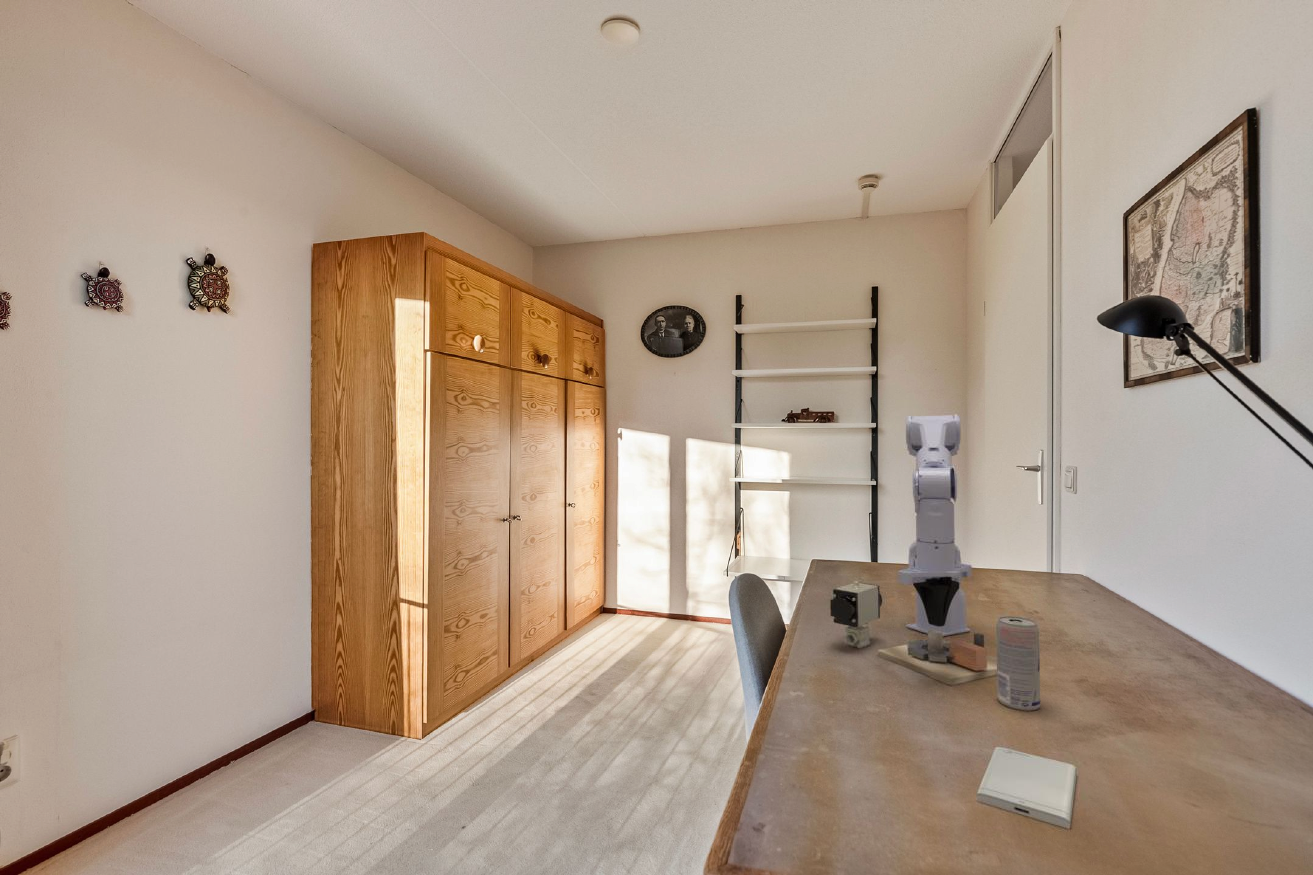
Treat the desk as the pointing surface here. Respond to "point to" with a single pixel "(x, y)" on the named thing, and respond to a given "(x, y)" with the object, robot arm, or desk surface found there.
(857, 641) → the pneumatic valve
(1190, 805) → the desk surface
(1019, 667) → the energy drink
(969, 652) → the segmented ring with bar
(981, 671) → the board
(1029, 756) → the hard drive
